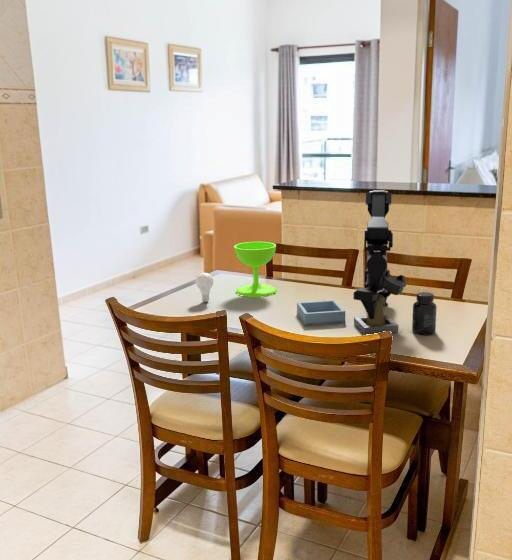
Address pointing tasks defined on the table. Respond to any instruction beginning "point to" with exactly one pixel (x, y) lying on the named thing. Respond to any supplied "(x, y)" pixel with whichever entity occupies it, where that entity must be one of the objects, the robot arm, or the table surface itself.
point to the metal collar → (375, 326)
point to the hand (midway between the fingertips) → (375, 316)
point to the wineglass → (255, 266)
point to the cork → (378, 313)
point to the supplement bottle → (424, 314)
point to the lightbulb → (204, 285)
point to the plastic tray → (320, 313)
